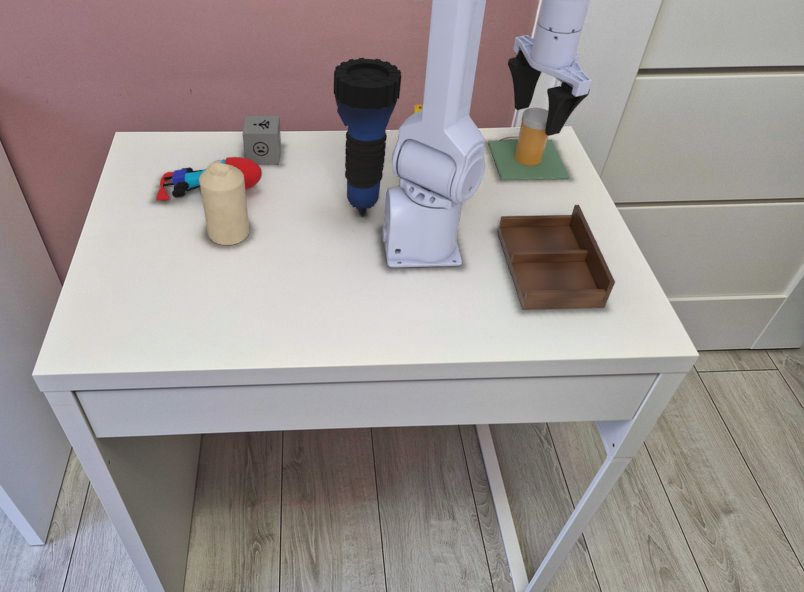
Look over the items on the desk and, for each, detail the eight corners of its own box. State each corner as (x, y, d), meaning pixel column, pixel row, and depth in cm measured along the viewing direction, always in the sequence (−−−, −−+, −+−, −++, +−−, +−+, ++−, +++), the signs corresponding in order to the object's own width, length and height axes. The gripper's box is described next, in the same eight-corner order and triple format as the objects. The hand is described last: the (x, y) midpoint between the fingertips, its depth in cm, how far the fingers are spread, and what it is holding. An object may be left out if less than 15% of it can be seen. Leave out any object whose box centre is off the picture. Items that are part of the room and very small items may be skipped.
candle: (256, 225, 93) (250, 160, 86) (239, 249, 90) (231, 184, 83) (219, 216, 95) (209, 151, 87) (200, 240, 91) (189, 175, 84)
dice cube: (278, 164, 103) (277, 133, 100) (245, 163, 103) (242, 133, 100) (281, 146, 107) (279, 116, 103) (248, 145, 107) (245, 115, 103)
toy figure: (159, 213, 97) (263, 200, 95) (147, 182, 94) (254, 168, 92) (169, 186, 103) (268, 172, 101) (158, 156, 100) (260, 141, 98)
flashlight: (369, 188, 99) (377, 50, 85) (401, 218, 95) (415, 77, 80) (321, 205, 97) (321, 65, 82) (352, 236, 92) (357, 94, 77)
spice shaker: (522, 168, 103) (533, 125, 97) (507, 153, 105) (517, 110, 100) (548, 163, 104) (560, 120, 99) (532, 147, 106) (543, 105, 101)
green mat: (501, 179, 101) (501, 177, 101) (488, 143, 108) (488, 140, 108) (568, 178, 102) (569, 176, 101) (551, 142, 108) (551, 139, 108)
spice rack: (522, 309, 83) (530, 284, 80) (497, 231, 93) (503, 205, 90) (604, 307, 83) (615, 281, 80) (570, 230, 94) (579, 204, 90)
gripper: (621, 41, 87) (591, 139, 97) (552, -2, 95) (530, 92, 106) (575, 51, 85) (549, 150, 95) (509, 6, 93) (491, 101, 103)
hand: (536, 120), depth 100 cm, fingers open, 7 cm apart
